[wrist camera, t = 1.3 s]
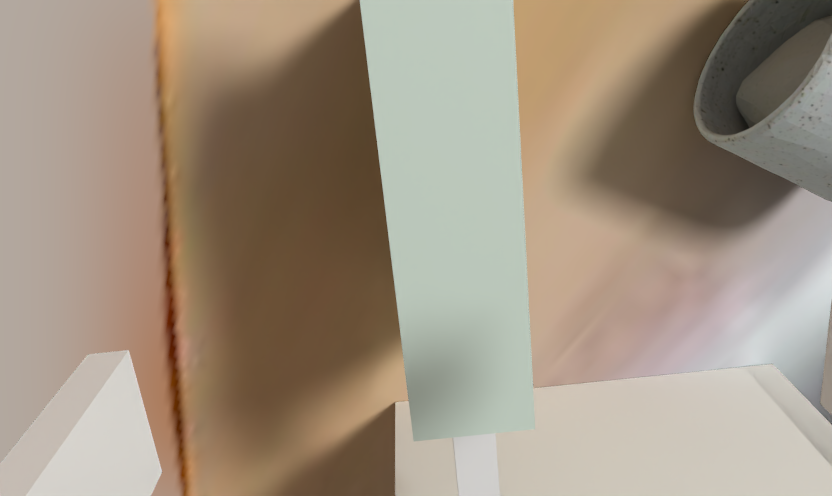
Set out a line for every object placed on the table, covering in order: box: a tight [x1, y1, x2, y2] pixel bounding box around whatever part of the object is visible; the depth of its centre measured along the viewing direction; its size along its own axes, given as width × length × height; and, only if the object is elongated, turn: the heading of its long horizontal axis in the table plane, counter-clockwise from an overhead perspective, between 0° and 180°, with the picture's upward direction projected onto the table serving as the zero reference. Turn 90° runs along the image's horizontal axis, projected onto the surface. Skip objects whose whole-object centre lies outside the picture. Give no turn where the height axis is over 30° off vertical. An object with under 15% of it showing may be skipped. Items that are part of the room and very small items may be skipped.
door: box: [360, 0, 535, 496], centre depth 27 cm, size 4×20×12 cm, turn 6°
